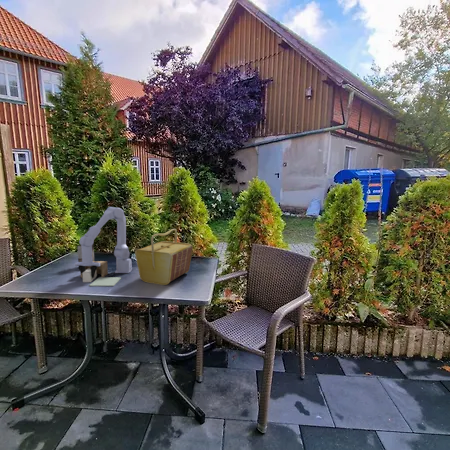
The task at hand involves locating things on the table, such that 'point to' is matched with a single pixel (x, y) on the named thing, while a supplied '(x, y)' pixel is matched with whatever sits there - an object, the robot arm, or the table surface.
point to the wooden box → (99, 268)
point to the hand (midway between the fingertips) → (88, 277)
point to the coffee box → (81, 253)
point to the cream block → (88, 275)
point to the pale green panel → (105, 281)
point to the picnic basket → (163, 260)
